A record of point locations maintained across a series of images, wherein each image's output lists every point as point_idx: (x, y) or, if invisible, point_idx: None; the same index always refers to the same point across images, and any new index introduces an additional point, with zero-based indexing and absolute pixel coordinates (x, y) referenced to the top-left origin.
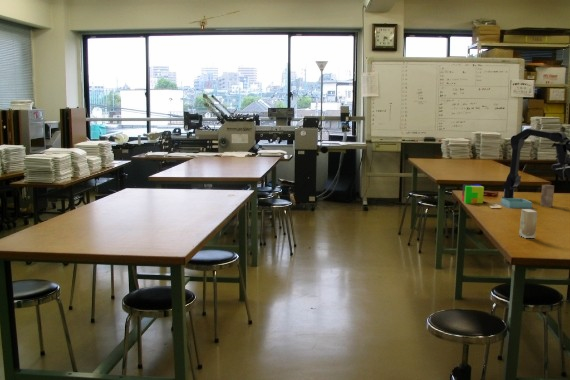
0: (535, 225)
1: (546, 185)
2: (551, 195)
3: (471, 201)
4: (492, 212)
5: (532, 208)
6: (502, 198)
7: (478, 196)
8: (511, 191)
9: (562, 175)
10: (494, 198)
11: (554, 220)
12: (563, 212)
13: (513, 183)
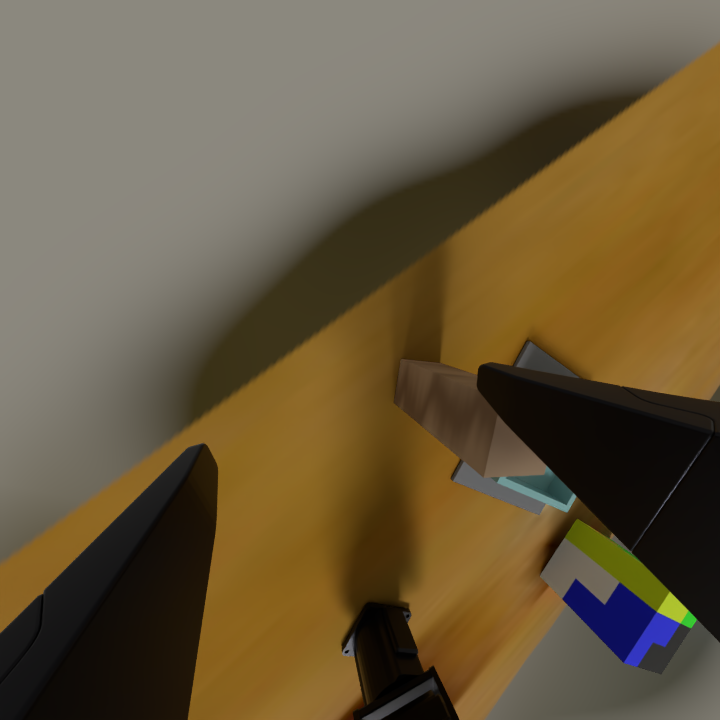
0: None
1: None
2: (458, 376)
3: (608, 538)
4: (683, 365)
5: (536, 356)
6: (570, 504)
7: (622, 549)
8: (404, 657)
9: (602, 393)
10: (435, 629)
11: (677, 126)
12: (491, 220)
13: (449, 715)
